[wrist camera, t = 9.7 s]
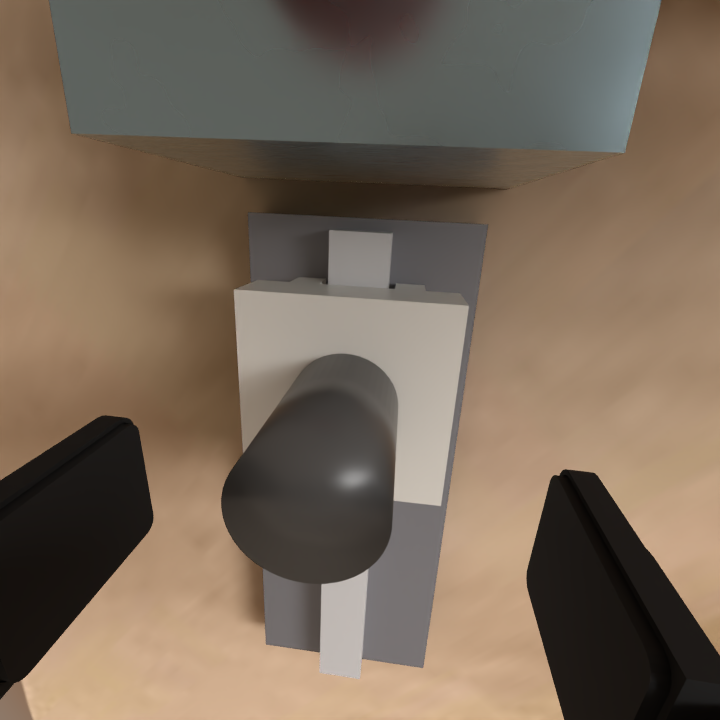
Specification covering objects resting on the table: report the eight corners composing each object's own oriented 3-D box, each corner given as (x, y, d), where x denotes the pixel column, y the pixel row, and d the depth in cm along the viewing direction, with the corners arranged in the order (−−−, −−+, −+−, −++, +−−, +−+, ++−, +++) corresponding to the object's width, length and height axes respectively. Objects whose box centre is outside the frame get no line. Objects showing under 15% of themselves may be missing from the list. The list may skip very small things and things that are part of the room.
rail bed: (479, 224, 18) (495, 224, 15) (422, 636, 27) (423, 694, 23) (263, 213, 19) (233, 211, 16) (275, 615, 28) (257, 668, 24)
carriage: (455, 287, 17) (514, 369, 8) (434, 452, 20) (458, 663, 10) (269, 275, 18) (114, 336, 8) (274, 435, 20) (160, 619, 11)
